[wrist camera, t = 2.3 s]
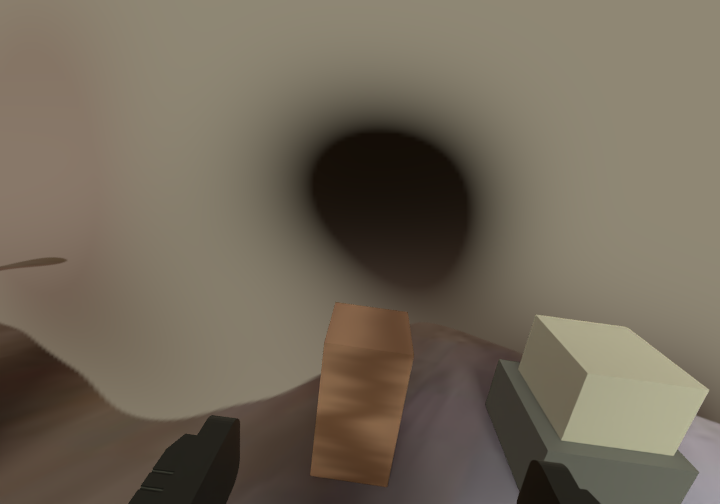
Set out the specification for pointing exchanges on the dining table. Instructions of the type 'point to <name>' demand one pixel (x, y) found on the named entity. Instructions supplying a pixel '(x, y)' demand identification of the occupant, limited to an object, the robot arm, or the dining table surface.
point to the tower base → (580, 450)
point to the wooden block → (361, 393)
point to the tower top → (608, 386)
